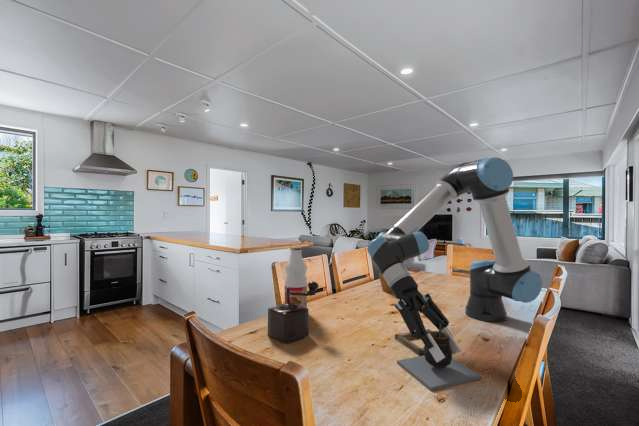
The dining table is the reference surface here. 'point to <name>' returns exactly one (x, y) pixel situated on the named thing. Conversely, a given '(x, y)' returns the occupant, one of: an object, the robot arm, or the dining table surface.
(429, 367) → the charcoal mat
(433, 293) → the dining table surface
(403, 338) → the frame
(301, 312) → the pepper mill
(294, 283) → the fruit juice
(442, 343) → the mate gourd
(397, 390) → the dining table surface
